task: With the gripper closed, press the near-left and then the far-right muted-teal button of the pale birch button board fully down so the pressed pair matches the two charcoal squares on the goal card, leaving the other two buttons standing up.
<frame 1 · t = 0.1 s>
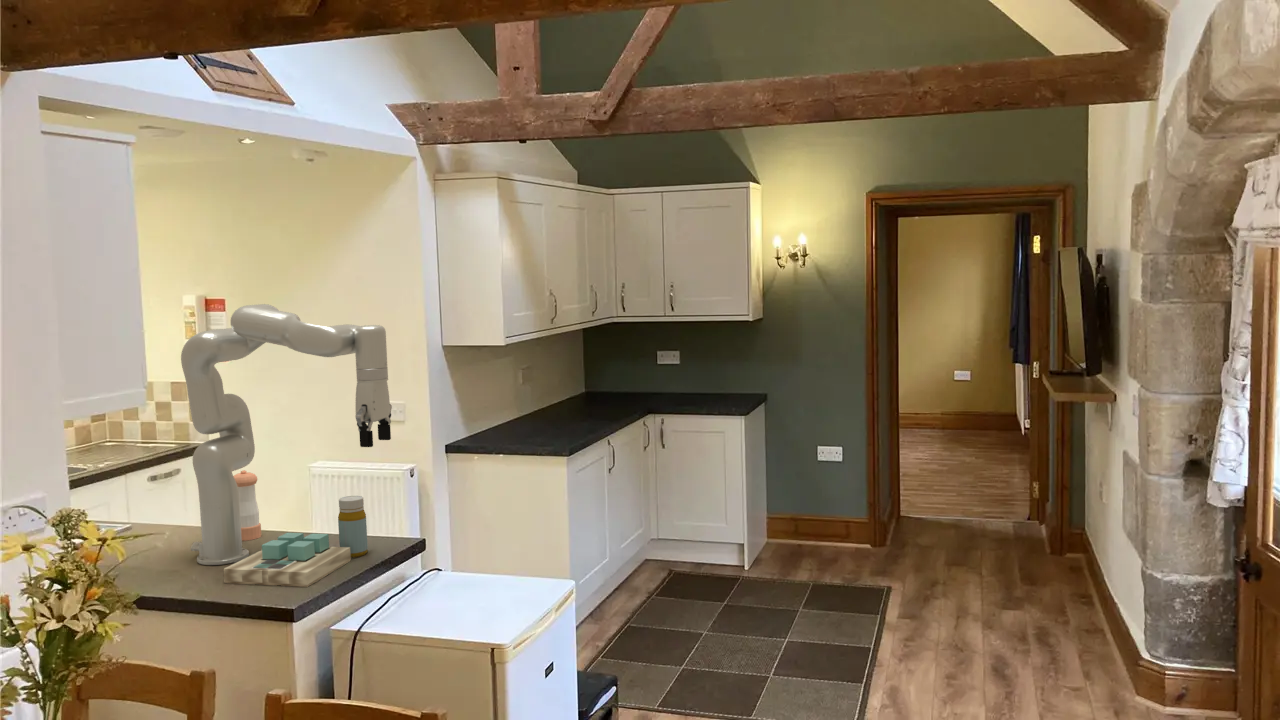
hand: (375, 443, 249), 31 cm above the counter, fingers open, 9 cm apart
button board: (289, 571, 248), on the counter
button near right: (275, 549, 249), point 5 cm above the counter, slide at 0.0 cm
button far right: (301, 550, 247), point 5 cm above the counter, slide at 0.0 cm
salt shaker: (247, 538, 282), on the counter
bottle: (354, 555, 262), on the counter
button far left: (315, 542, 254), point 5 cm above the counter, slide at 0.0 cm
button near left: (291, 541, 255), point 5 cm above the counter, slide at 0.0 cm
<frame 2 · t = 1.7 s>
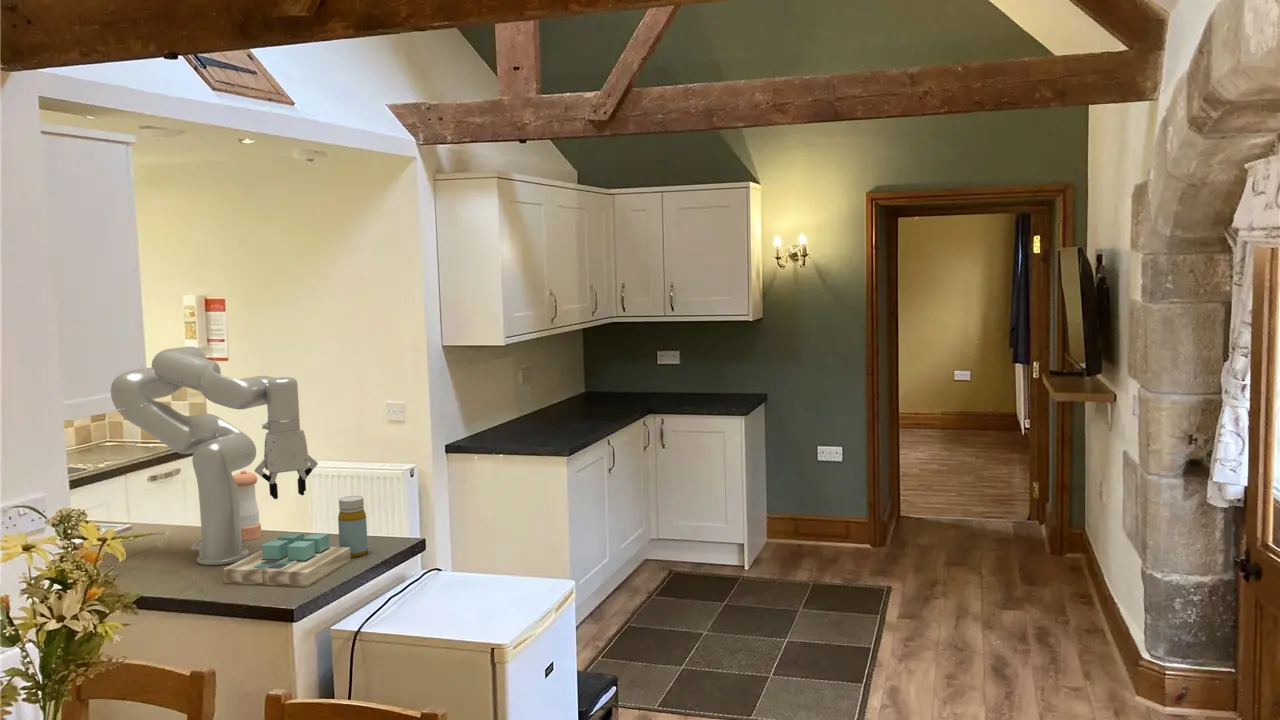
hand: (288, 495, 254), 18 cm above the counter, fingers open, 5 cm apart
nothing on the counter moved.
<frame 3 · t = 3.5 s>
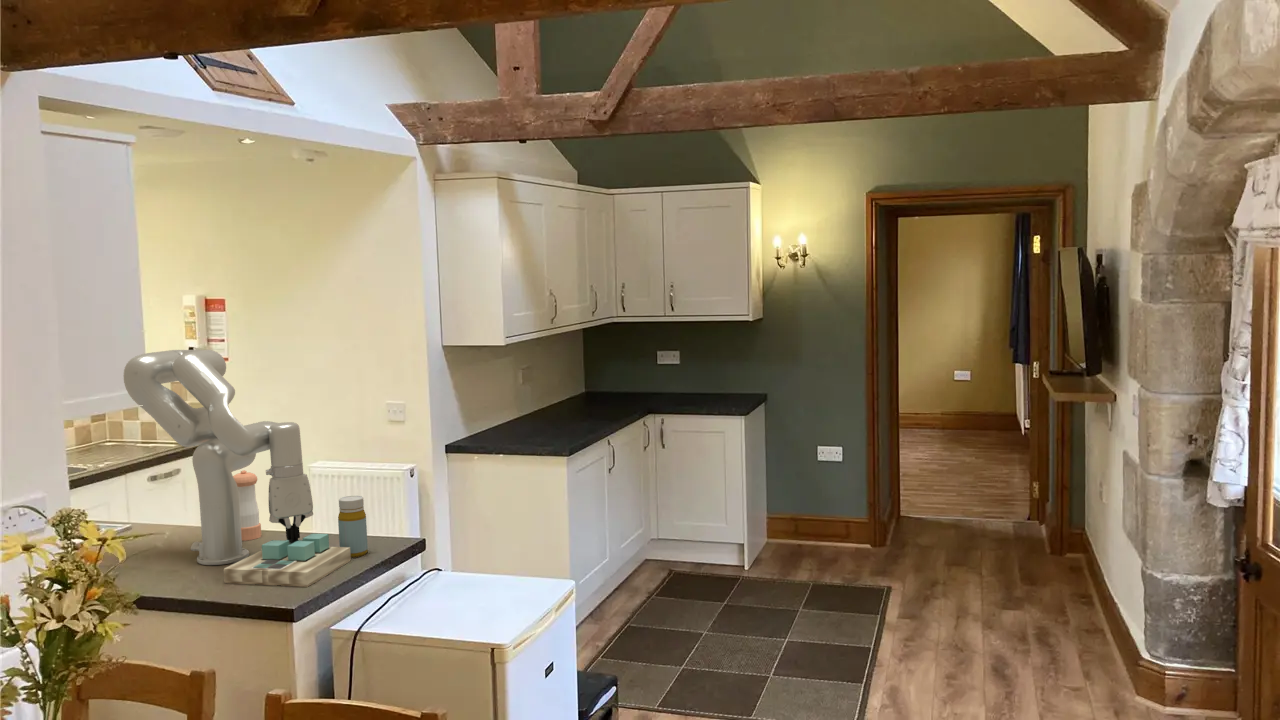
hand: (293, 541, 255), 6 cm above the counter, fingers closed
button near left: (291, 548, 256), point 4 cm above the counter, slide at 1.8 cm, touching gripper
everything else where it was.
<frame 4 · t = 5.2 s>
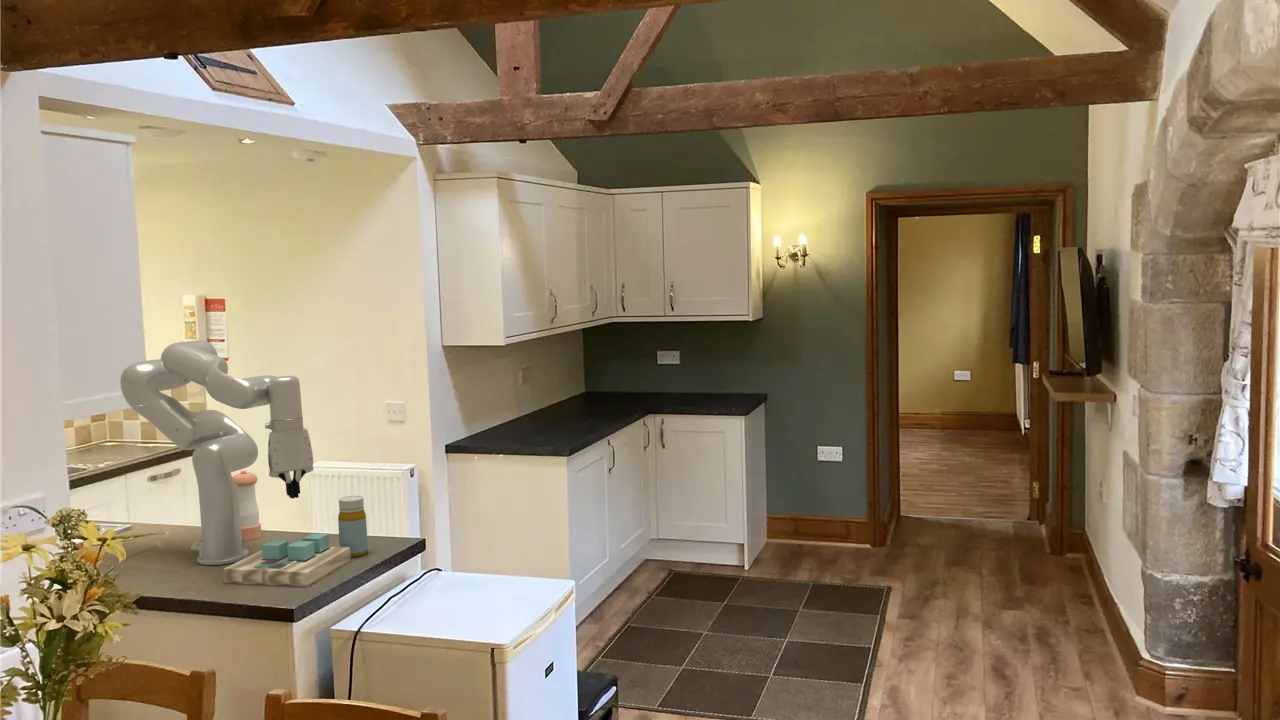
hand: (293, 497, 252), 18 cm above the counter, fingers closed
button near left: (291, 553, 256), point 2 cm above the counter, slide at 3.0 cm
everything else where it was.
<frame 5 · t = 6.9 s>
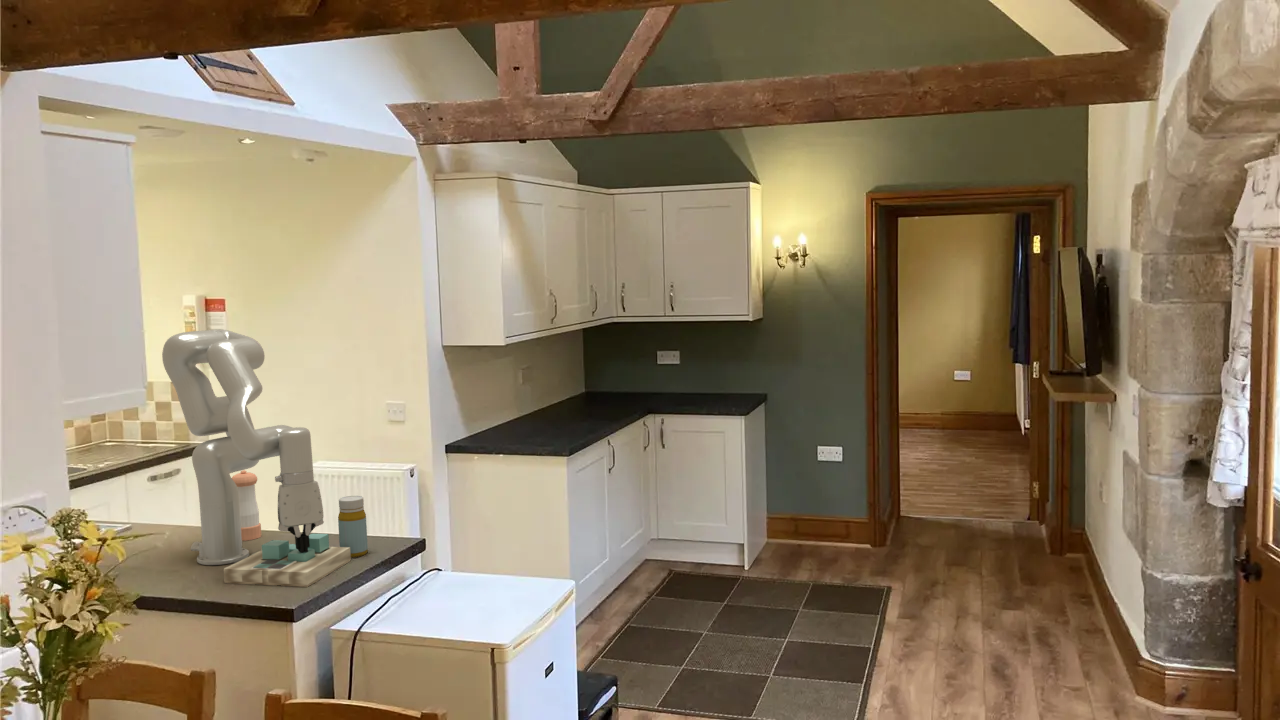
hand: (303, 551, 247), 5 cm above the counter, fingers closed
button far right: (301, 557, 247), point 4 cm above the counter, slide at 1.9 cm, touching gripper
everything else where it was.
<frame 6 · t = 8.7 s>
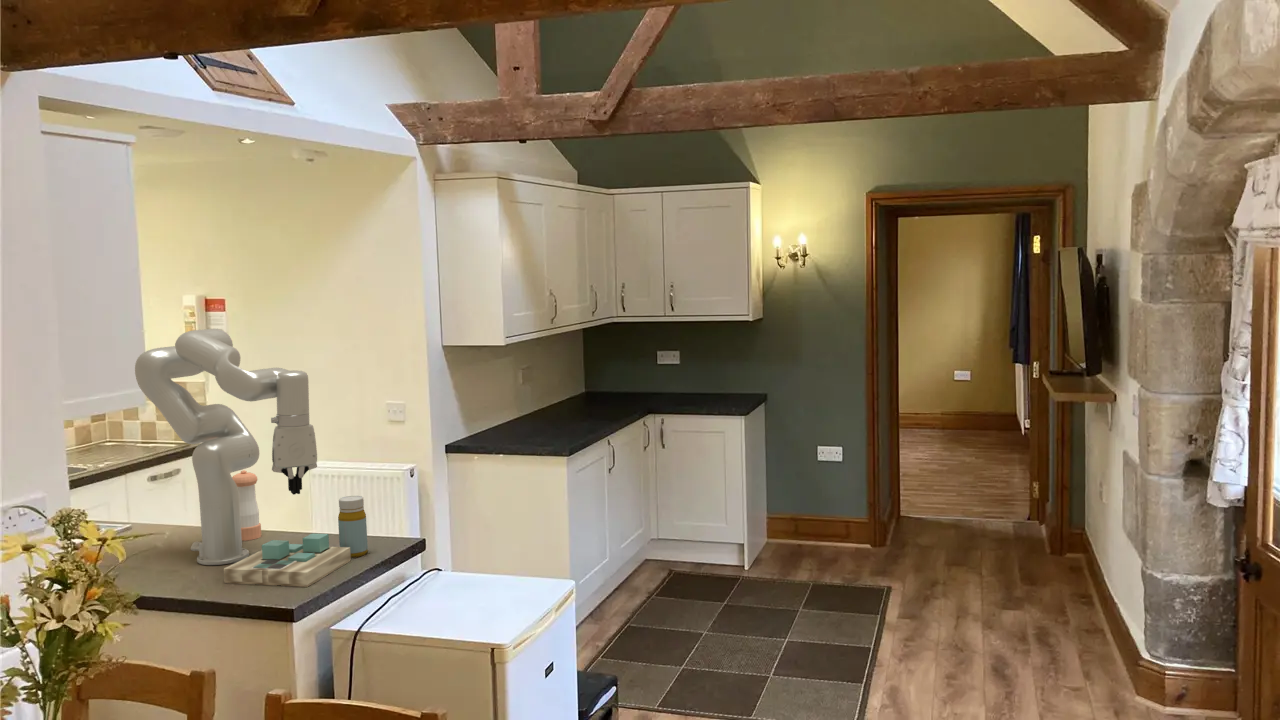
hand: (295, 493, 249), 19 cm above the counter, fingers closed
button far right: (301, 562, 247), point 2 cm above the counter, slide at 3.0 cm
everything else where it was.
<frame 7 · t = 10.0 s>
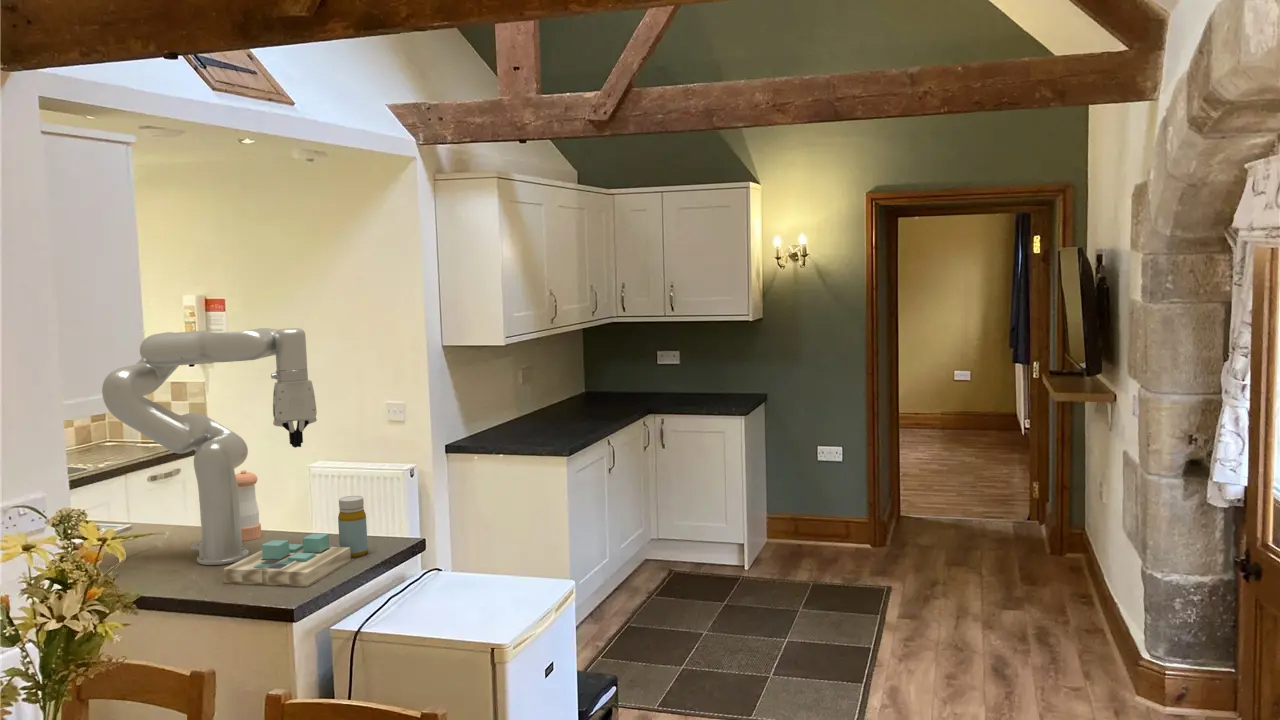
hand: (296, 446, 259), 29 cm above the counter, fingers closed
nothing on the counter moved.
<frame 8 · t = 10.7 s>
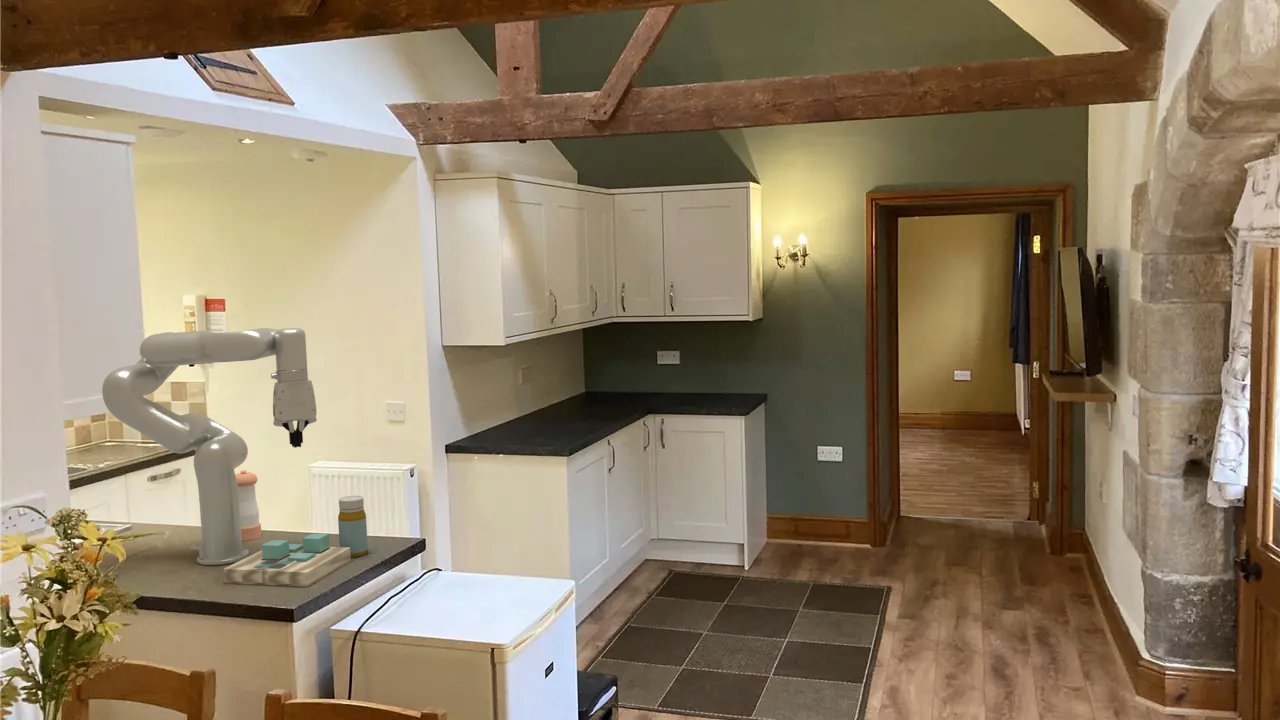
hand: (296, 446, 259), 29 cm above the counter, fingers closed
nothing on the counter moved.
at the end: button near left slide at 3.0 cm; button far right slide at 3.0 cm; button far left slide at 0.0 cm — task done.
